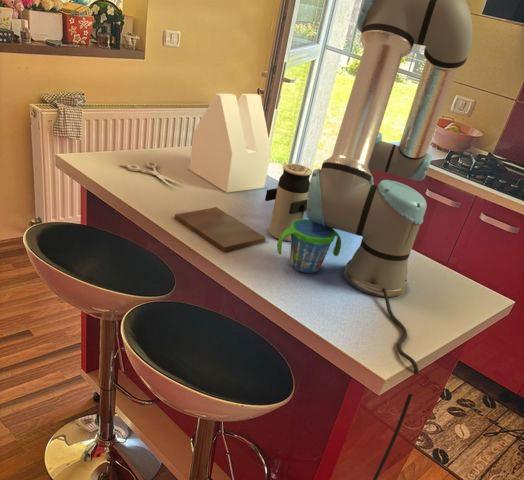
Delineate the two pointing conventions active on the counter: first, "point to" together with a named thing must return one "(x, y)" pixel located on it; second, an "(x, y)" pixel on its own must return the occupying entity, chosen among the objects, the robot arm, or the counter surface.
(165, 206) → the counter surface
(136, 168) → the scissors
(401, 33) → the robot arm
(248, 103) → the white slotted tapered block
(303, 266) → the snack cup
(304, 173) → the travel mug
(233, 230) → the walnut board
